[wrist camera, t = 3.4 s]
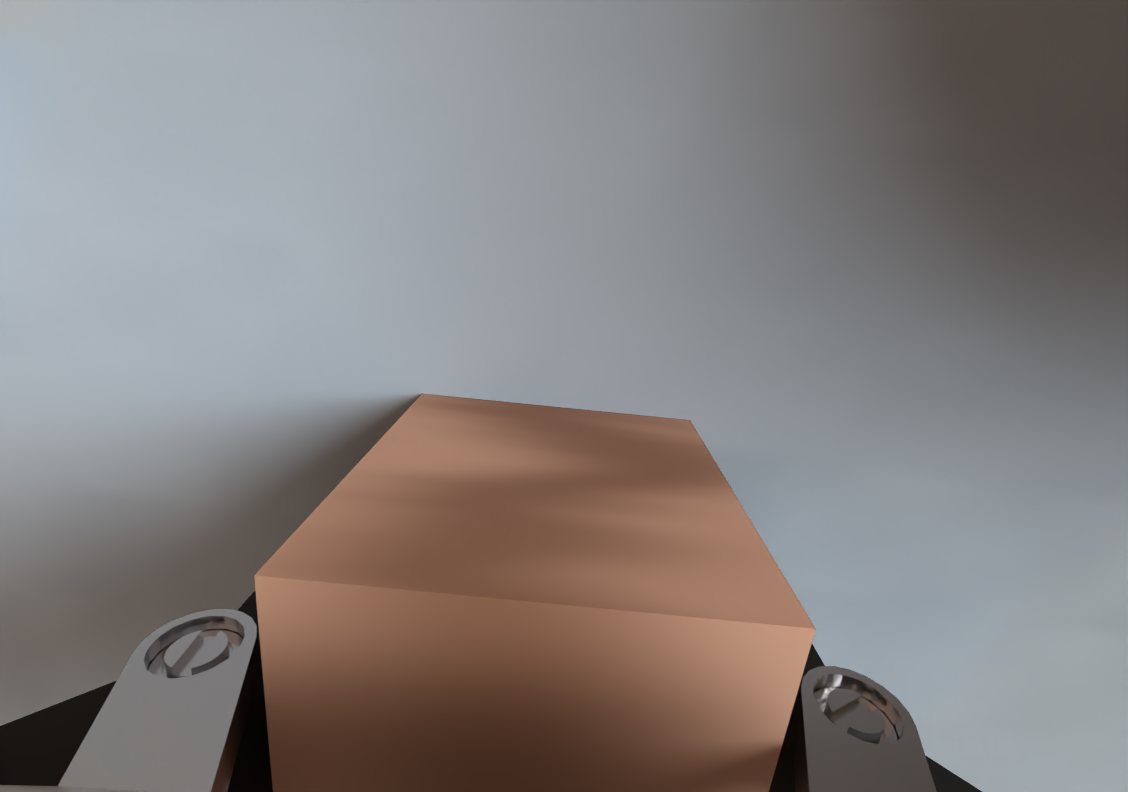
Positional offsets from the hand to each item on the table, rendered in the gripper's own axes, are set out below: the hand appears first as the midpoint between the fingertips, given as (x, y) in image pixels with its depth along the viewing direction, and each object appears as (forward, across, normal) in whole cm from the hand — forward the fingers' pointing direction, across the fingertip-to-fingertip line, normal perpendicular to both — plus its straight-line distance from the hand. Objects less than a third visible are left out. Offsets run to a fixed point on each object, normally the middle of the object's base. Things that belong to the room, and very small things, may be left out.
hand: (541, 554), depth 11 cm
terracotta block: (+1, 0, 0) cm, 1 cm away
